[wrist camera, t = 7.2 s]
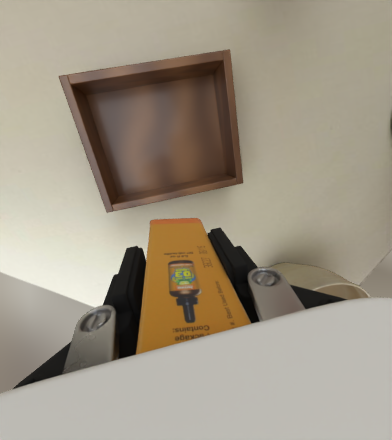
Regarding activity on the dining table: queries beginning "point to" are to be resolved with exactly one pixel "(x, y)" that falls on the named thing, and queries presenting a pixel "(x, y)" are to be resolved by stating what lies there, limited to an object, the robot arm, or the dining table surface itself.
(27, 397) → the robot arm
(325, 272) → the planter bowl
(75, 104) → the wooden tray
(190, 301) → the supplement box
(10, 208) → the dining table surface
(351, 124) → the dining table surface
